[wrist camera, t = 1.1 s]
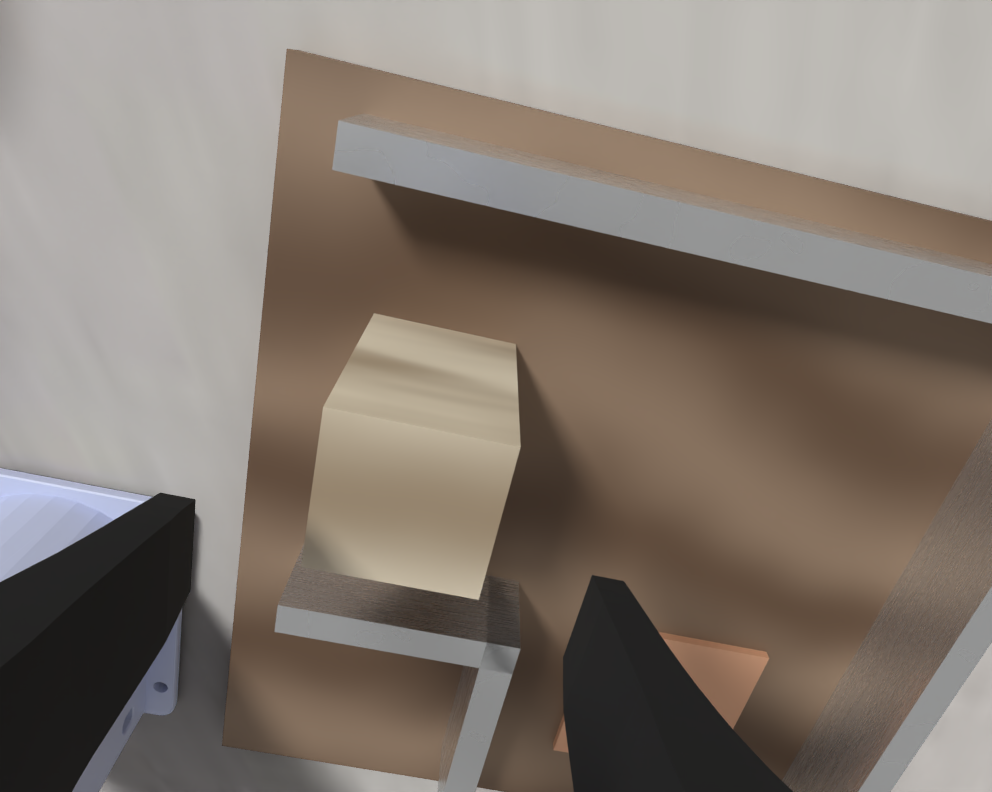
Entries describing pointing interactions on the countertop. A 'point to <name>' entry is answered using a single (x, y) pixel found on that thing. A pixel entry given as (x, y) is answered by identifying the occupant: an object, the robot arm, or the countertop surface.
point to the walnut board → (600, 426)
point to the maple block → (415, 458)
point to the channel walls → (495, 616)
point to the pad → (710, 675)
